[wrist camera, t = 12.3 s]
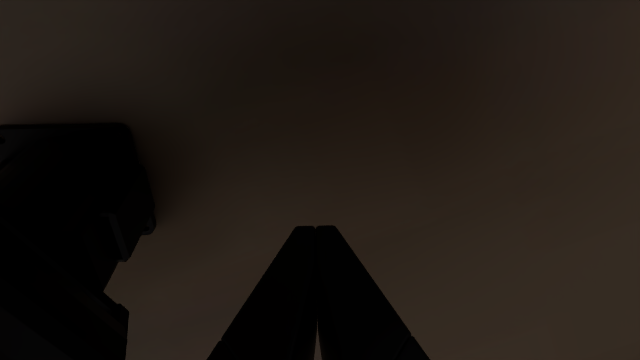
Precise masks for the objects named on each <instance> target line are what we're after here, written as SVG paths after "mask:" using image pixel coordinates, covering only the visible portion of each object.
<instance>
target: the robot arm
mask: <svg viewBox="0 0 640 360" xmlns="http://www.w3.org/2000/svg"><path fill="white" fill-rule="evenodd" d="M115 132H119V133H120V134H122V136H123V137H122V138H121V137H118V136H117V135H116V134H115ZM0 135H1V136H3V137H4V138H5V140H4V139H2V138H1V137H0V360H125V357H126V345H127V331H128V319H129V311H128V310H127V309H126V308H125V307H124V306H122V305H121V304H116V303H115V302H114V301H113V300H112V299H111V298H109V297H108V296H107V295H106V294H105V293H104V292H103V291H104V289H105V287H106V285H107V283H108V281H109V280H110V278H111V276H112V274H113V272H114V270H115V268H116V266H117V264H118V262H126V261H127V260H128V259H129V258H130V257H131V255H132V253H133V251H134V249H135V247H136V245H137V242H138V240H139V238H140V236H141V235H149V234H151V233H153V231H154V229H155V227H156V221H155V217H154V214H153V210H154V208H155V204H154V200H153V196H152V193H151V189H150V185H149V182H148V178H147V174H146V171H145V168H144V167H143V166H142V165H141V164H140V163H139V160H138V156H137V153H136V149H135V146H134V142H133V139H132V135H131V132H130V130H129V129H128V128H127V127H126V126H125V125H123V124H119V123H110V124H61V125H11V126H0ZM146 225H148V226H149V227H147V226H146ZM317 322H318V335H319V343H320V349H321V356H322V360H430V359H429V357H428V356H427V355H426V353H425V352H424V351H423V349H422V348H421V346H420V345H419V344H418V342H417V341H416V339H415V338H414V337H413V336H411V333H410V331H409V330H408V328H407V327H406V325H405V324H404V323H403V321H402V320H401V318H400V317H399V316H398V314H397V313H396V311H395V310H394V308H393V307H392V306H391V304H390V303H389V301H388V300H387V299H386V297H385V296H384V294H383V293H382V291H381V290H380V289H379V287H378V286H377V284H376V283H375V282H374V280H373V279H372V277H371V276H370V274H369V273H368V272H367V270H366V269H365V267H364V266H363V265H362V263H361V262H360V260H359V259H358V257H357V256H356V255H355V253H354V252H353V250H352V249H351V248H350V246H349V245H348V243H347V242H346V240H345V239H344V238H343V236H342V235H341V233H340V232H339V231H338V229H337V228H336V227H335V226H333V225H328V226H317V227H316V234H315V227H314V226H297V227H295V228H294V230H293V231H292V233H291V234H290V236H289V237H288V239H287V240H286V242H285V243H284V245H283V246H282V248H281V249H280V251H279V252H278V254H277V255H276V257H275V258H274V260H273V261H272V263H271V264H270V266H269V267H268V269H267V270H266V272H265V273H264V275H263V276H262V278H261V279H260V281H259V282H258V284H257V285H256V287H255V288H254V290H253V291H252V293H251V294H250V296H249V297H248V299H247V300H246V302H245V303H244V305H243V306H242V308H241V309H240V311H239V312H238V314H237V315H236V317H235V318H234V320H233V321H232V323H231V324H230V326H229V327H228V329H227V330H226V332H225V333H224V335H223V336H222V338H221V340H222V341H219V342H218V343H217V345H216V346H215V348H214V349H213V351H212V352H211V354H210V355H209V357H208V358H207V360H314V354H315V345H316V334H317Z"/></svg>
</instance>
